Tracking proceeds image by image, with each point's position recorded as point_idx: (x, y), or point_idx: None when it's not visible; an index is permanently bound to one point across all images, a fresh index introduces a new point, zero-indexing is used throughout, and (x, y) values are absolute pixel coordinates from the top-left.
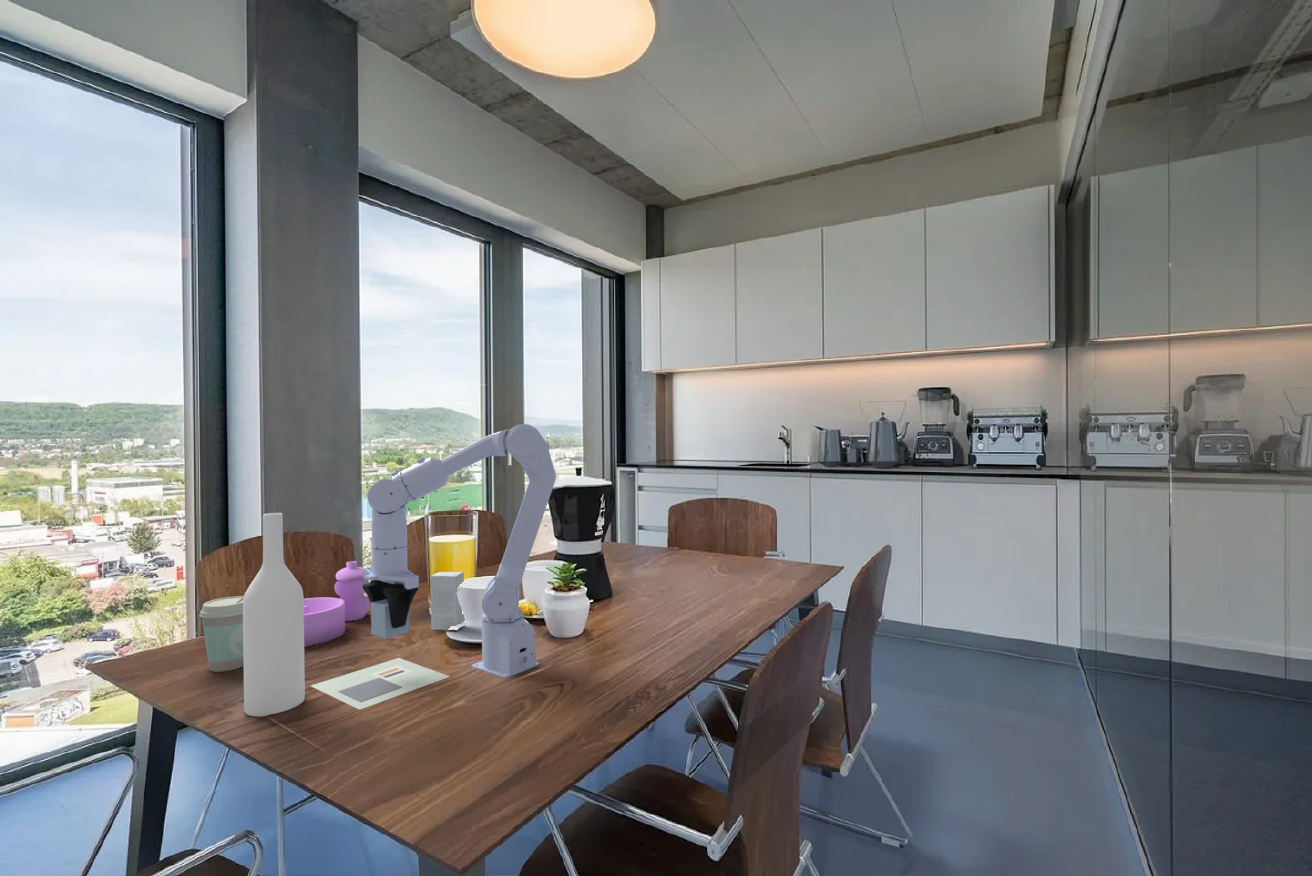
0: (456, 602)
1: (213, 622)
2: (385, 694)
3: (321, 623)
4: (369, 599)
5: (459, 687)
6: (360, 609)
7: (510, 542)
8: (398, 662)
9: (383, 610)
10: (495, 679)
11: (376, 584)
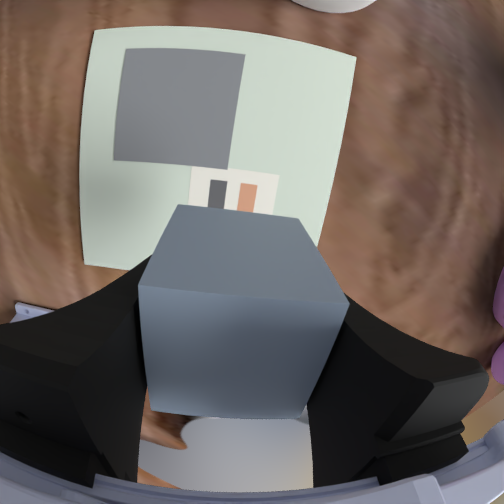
0: None
1: None
2: (111, 109)
3: None
4: (396, 329)
5: (35, 237)
6: (500, 364)
7: None
8: None
9: (166, 270)
10: (28, 295)
11: (387, 442)
